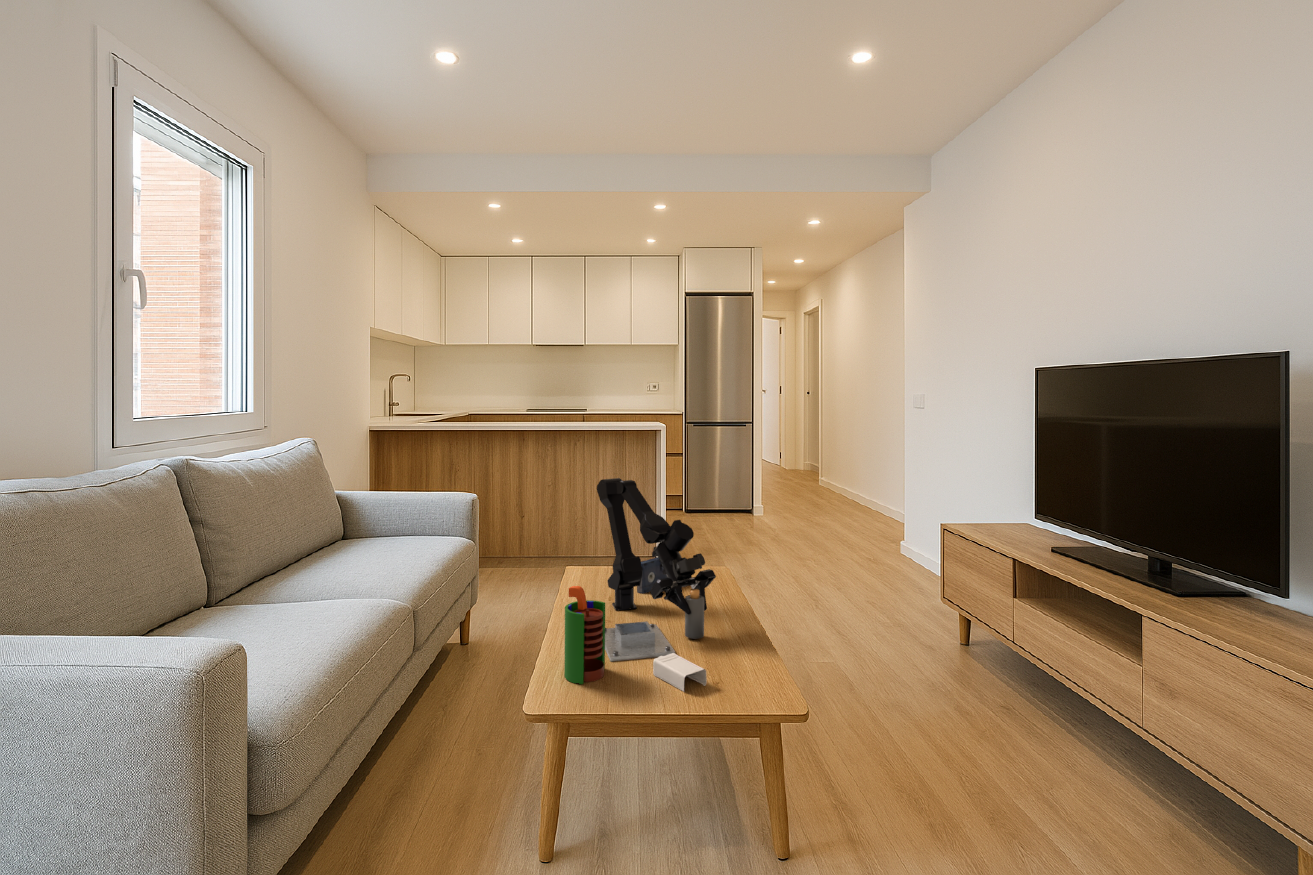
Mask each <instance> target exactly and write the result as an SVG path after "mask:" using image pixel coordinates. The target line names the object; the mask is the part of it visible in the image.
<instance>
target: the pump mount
mask: <svg viewBox="0 0 1313 875" xmlns="http://www.w3.org/2000/svg"><path fill="white" fill-rule="evenodd" d="M605 653H606V654H607V657H608V659H609V662H620V661H629V660H639V659H650V658H651V659H652V658H658V657H659V656H666V655H668V654H671V653H675V654H676V651H675V649H674V648H673V646H672V645H671V643H670V641H669V640H668V639H667V638H666V637H665V635H664V633H663V632H662V630H661V629H660V627H659V626H658V625H657V624H656V623H655V624H654V623H649V622H648V621H637V622H635V621H634V622H624V623H623V622H622V623H615V624H614V627H608V628H607V627H605Z"/></svg>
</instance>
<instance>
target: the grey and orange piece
mask: <svg viewBox="0 0 1313 875" xmlns="http://www.w3.org/2000/svg"><path fill="white" fill-rule="evenodd" d="M684 597H685V599H686V601H687V603H688V605H689V608H690V610H691V614H690V615H688V614H687V613H685V612H684V637H686V638H688V639H702V638H704V636H705V611H704V597H703V596H701V595H699V589H692V588H691V589H690V590H689V595H686V596H684Z"/></svg>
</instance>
